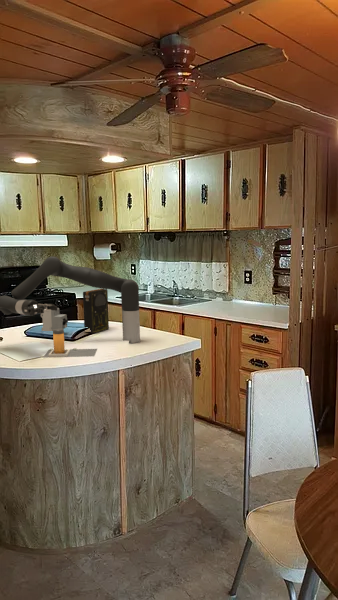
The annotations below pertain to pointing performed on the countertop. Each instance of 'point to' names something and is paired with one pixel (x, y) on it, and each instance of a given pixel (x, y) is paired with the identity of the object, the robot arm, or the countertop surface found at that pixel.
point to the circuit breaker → (53, 320)
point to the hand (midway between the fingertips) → (50, 309)
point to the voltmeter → (96, 310)
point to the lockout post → (58, 341)
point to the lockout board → (72, 353)
